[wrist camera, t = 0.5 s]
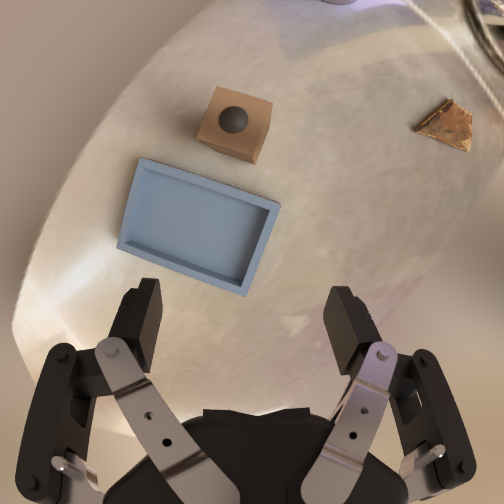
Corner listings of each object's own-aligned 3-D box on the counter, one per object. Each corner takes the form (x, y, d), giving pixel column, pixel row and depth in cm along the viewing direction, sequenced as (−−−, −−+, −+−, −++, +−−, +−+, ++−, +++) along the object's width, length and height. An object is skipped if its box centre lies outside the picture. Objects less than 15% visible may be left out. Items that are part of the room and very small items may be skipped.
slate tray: (149, 159, 34) (139, 157, 31) (279, 203, 35) (281, 205, 32) (126, 242, 37) (116, 248, 34) (247, 288, 38) (245, 297, 35)
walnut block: (231, 115, 33) (216, 85, 21) (269, 127, 33) (272, 102, 21) (217, 151, 34) (195, 138, 22) (255, 164, 34) (252, 156, 22)
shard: (410, 132, 32) (416, 130, 31) (412, 85, 30) (418, 82, 29) (464, 154, 32) (471, 153, 31) (466, 110, 30) (472, 108, 29)
